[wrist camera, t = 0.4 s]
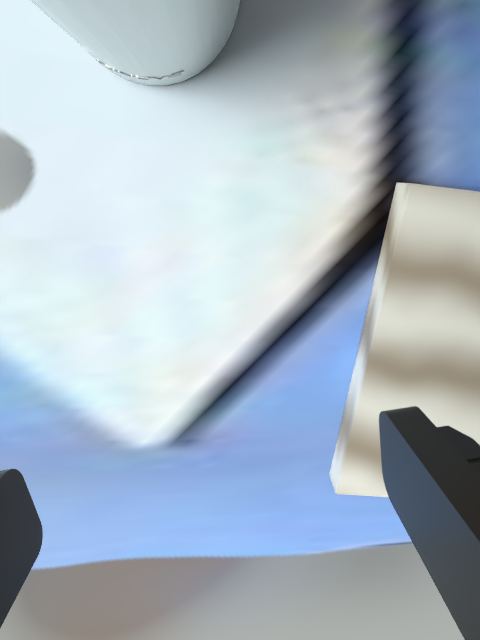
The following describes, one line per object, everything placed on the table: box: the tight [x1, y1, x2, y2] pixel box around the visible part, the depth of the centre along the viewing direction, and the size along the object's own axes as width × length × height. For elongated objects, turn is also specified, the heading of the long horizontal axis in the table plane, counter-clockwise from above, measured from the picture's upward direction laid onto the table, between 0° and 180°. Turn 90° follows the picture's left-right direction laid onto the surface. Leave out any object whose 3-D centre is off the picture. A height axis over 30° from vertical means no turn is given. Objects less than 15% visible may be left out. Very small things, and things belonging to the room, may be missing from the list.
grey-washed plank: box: [329, 183, 480, 497], centre depth 27 cm, size 22×10×2 cm, turn 174°
